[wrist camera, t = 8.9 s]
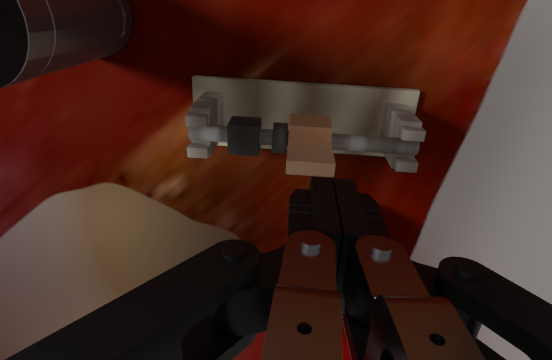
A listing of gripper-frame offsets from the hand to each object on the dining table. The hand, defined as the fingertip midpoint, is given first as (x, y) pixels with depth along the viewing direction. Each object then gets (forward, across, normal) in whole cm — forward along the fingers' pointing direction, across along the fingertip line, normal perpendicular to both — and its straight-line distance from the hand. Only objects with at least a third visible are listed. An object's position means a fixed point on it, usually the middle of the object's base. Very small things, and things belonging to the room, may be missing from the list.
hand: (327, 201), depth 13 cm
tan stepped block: (+25, 0, +6) cm, 26 cm away
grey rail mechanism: (+31, 0, +6) cm, 32 cm away
